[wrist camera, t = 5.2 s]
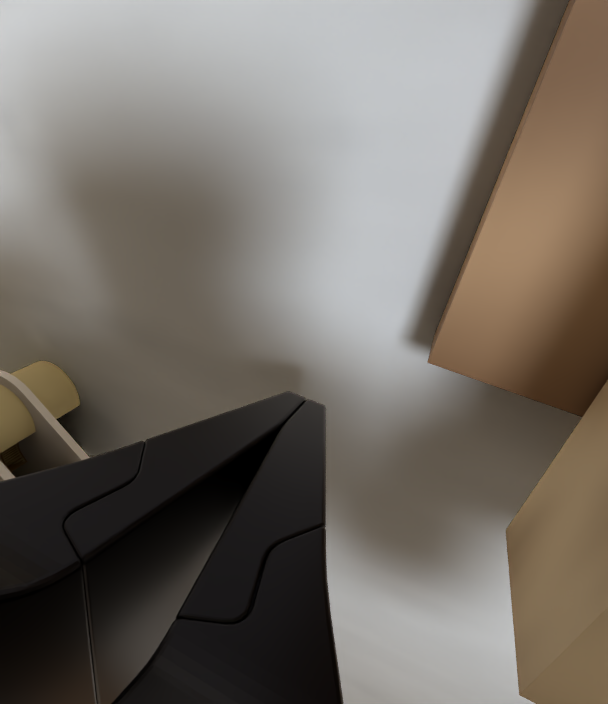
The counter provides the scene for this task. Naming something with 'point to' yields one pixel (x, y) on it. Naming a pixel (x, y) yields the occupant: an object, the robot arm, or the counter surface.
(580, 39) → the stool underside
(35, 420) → the stacked layers on plate
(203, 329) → the counter surface
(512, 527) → the oak leg
